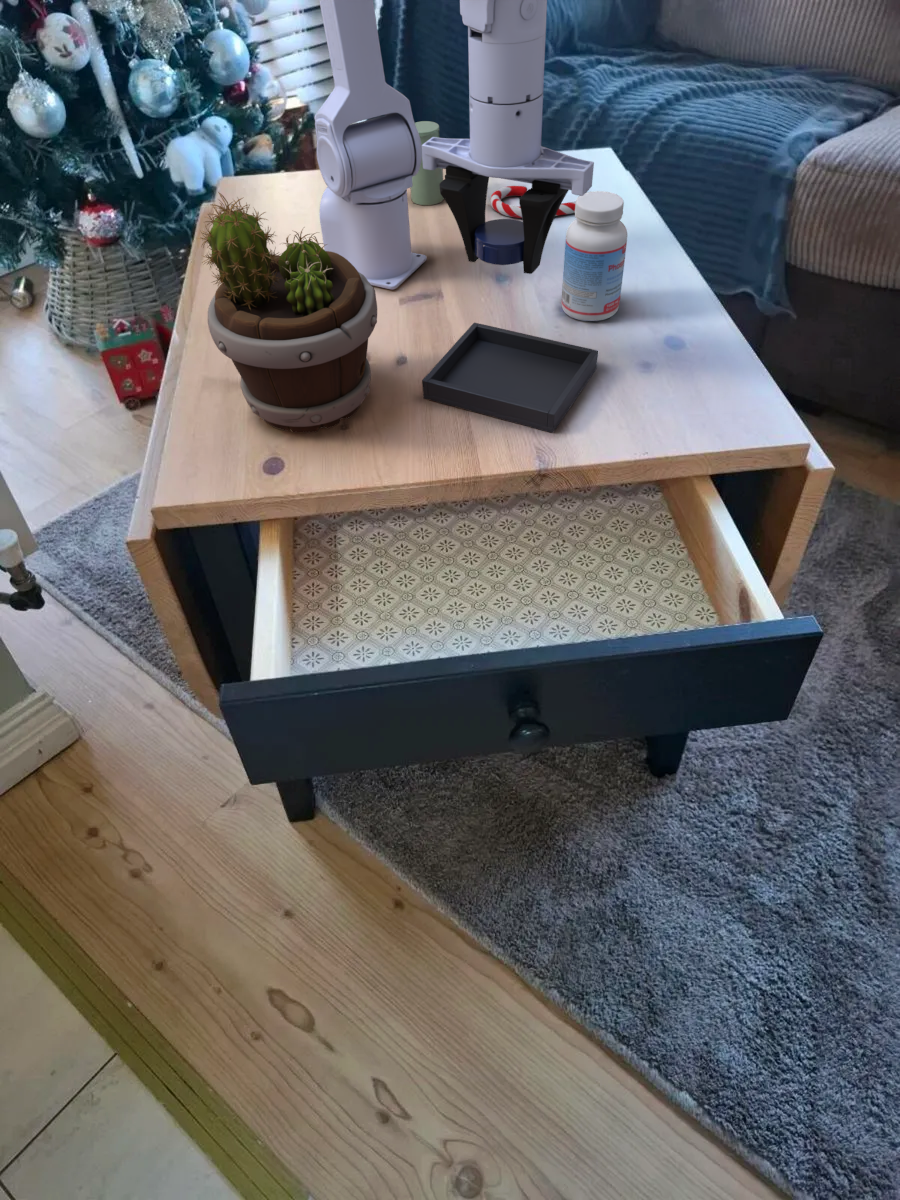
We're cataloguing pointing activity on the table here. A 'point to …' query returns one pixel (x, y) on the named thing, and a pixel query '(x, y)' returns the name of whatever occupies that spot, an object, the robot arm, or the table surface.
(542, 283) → the table surface
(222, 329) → the flowerpot
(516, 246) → the jar lid
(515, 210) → the candy cane
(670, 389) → the table surface
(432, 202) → the jar
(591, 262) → the pill bottle
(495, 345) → the tray
